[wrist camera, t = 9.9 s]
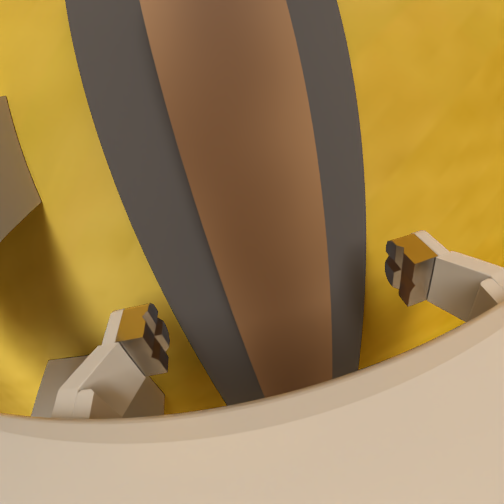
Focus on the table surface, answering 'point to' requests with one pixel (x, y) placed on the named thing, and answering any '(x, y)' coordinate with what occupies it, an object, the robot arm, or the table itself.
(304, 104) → the rail
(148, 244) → the mat
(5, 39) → the table surface
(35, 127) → the table surface
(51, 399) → the post
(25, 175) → the post
